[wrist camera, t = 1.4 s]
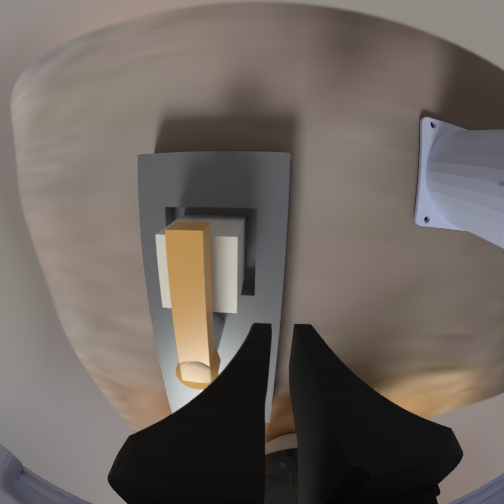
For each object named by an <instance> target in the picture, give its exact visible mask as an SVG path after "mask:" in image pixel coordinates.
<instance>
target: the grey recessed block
mask: <svg viewBox="0 0 504 504" xmlns="http://www.w3.org/2000/svg"><path fill="white" fill-rule="evenodd" d="M290 154H291V153H285V152H261V151H195V152H171V153H155V154H142V155H138V192H139V213H140V228H141V241H142V252H143V261H144V270H145V279H146V286H147V294H148V301H149V307H150V314H151V320H152V326H153V331H154V337H155V342H156V347H157V352H158V357H159V362H160V367H161V371H162V375H163V380H164V384H165V388H166V392H167V396H168V400H169V404H170V408H171V411H172V413H174V412H175V411H177V410H178V409H180V408H181V407H183V406H184V405H186V404H187V403H188V402H190V401H191V400H192V399H194V398H195V397H196V396H197V395H198V394H199V393H201V392H202V391H203V390H196V389H192V388H190V387H187V386H186V385H184V384H183V383H182V382H181V381H180V380H179V379H178V378H177V376H176V367H177V365H178V362H179V358H178V352H177V345H176V338H175V331H174V323H173V316H172V308H163V306H162V298H161V290H160V281H159V271H158V261H157V249H156V236H155V234H157V233H158V232H160V231H161V230H162V229H164V228H165V227H167V226H168V225H170V224H171V223H172V222H174V221H175V220H177V219H178V218H180V217H181V216H183V215H230V216H246V228H245V276H244V281H243V286H242V291H241V296H240V301H239V306H238V311H237V313H223V312H213V329H214V347H215V350H216V351H217V352H218V354H219V356H220V359H221V362H220V367H219V371H218V375H219V374H220V373H221V372H222V371H223V370H224V368H225V367H226V366H227V365H228V363H229V362H230V361H231V360H232V358H233V357H234V356H235V354H236V353H237V351H238V350H239V348H240V347H241V345H242V344H243V342H244V340H245V339H246V337H247V335H248V333H249V331H250V328H251V325H252V324H254V323H271V325H272V341H271V354H270V366H269V377H268V388H267V395H266V402H265V423H268V424H269V423H270V415H271V407H272V398H273V389H274V380H275V371H276V361H277V351H278V341H279V330H280V319H281V307H282V295H283V282H284V268H285V254H286V238H287V221H288V202H289V180H290Z"/></svg>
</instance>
